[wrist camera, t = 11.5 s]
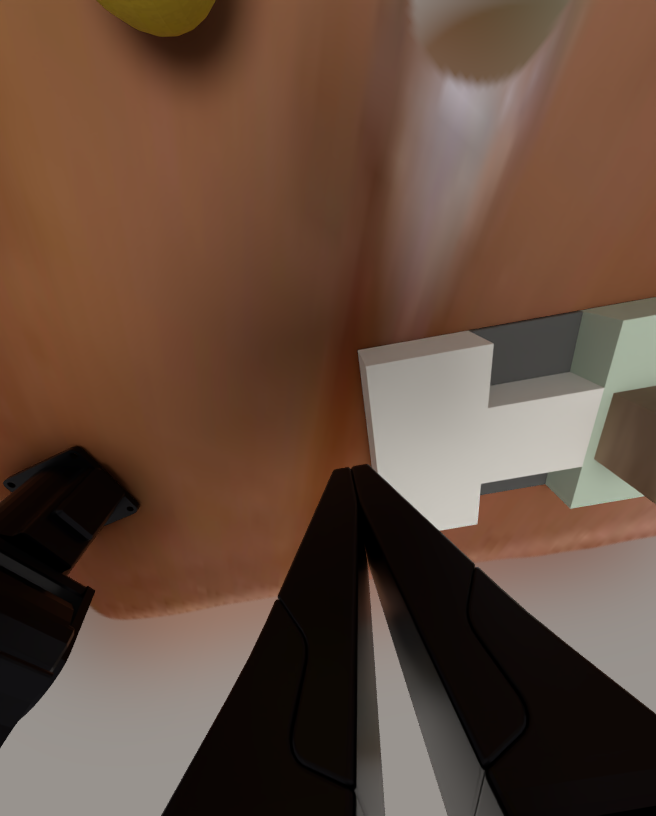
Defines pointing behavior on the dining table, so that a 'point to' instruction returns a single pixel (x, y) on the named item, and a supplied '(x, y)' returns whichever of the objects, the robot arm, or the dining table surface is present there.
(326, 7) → the dining table surface
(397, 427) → the board
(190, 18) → the lemon
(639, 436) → the walnut block
